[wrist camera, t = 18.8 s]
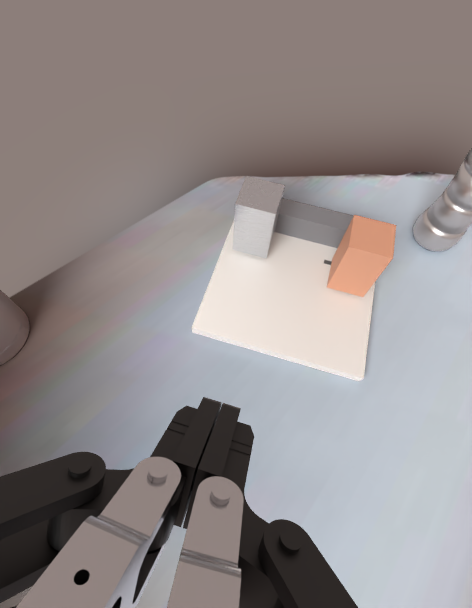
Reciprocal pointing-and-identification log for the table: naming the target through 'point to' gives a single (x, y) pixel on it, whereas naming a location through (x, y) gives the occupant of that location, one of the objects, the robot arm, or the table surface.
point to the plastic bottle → (448, 213)
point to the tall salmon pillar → (361, 255)
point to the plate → (290, 296)
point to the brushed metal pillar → (256, 216)
